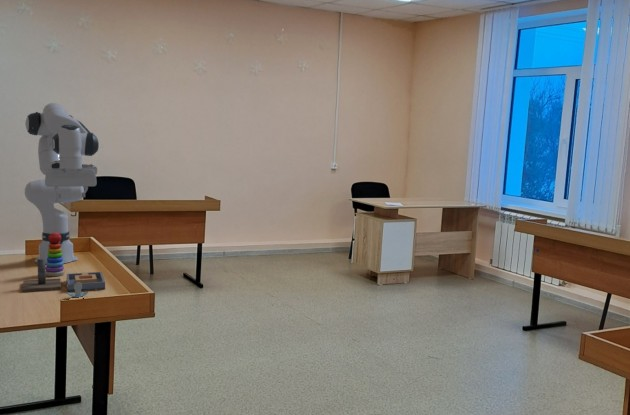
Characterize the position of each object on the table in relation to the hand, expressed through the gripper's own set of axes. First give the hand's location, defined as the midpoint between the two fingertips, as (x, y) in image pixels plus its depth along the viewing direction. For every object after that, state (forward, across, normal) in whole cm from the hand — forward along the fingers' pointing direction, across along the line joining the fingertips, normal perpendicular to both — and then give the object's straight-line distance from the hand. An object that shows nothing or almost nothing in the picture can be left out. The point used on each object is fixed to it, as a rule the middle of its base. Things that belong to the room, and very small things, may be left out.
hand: (71, 197), depth 261 cm
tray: (+35, -4, +12) cm, 37 cm away
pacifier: (+36, -1, +32) cm, 47 cm away
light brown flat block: (+34, -4, +12) cm, 37 cm away
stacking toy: (+35, +7, -9) cm, 37 cm away
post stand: (+35, +12, +10) cm, 38 cm away
